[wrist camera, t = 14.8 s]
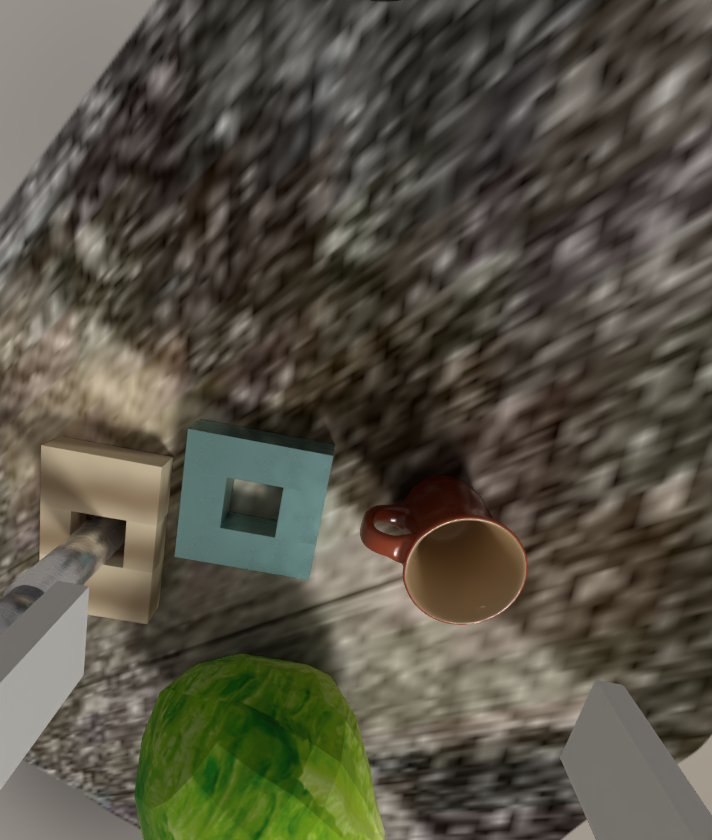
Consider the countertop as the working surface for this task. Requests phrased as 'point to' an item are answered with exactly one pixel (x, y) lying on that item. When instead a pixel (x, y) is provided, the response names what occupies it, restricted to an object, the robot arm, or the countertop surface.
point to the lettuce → (254, 757)
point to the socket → (261, 463)
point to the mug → (450, 551)
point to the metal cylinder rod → (64, 565)
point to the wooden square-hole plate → (114, 498)
